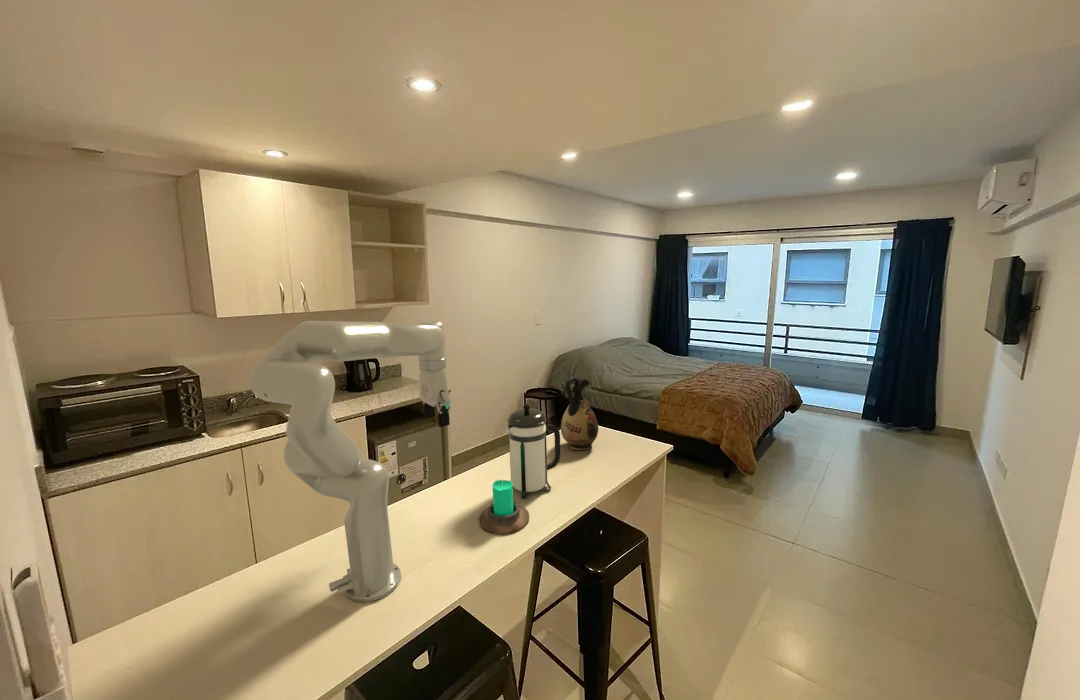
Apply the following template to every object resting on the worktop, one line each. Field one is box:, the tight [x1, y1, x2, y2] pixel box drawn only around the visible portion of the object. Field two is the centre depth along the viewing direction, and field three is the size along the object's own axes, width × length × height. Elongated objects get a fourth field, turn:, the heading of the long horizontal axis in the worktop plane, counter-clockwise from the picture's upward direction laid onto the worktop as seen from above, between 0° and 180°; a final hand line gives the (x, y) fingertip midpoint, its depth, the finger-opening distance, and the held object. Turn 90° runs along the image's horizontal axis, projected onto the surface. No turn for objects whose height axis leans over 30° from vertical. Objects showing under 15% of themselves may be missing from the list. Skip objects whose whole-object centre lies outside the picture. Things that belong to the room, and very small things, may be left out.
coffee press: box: [505, 403, 561, 500], centre depth 146 cm, size 17×16×30 cm
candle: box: [492, 479, 514, 516], centre depth 129 cm, size 6×6×12 cm
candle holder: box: [478, 501, 530, 536], centre depth 130 cm, size 15×15×4 cm
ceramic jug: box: [560, 376, 599, 454], centre depth 178 cm, size 17×15×30 cm
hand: (436, 421), depth 127 cm, fingers open, 9 cm apart
